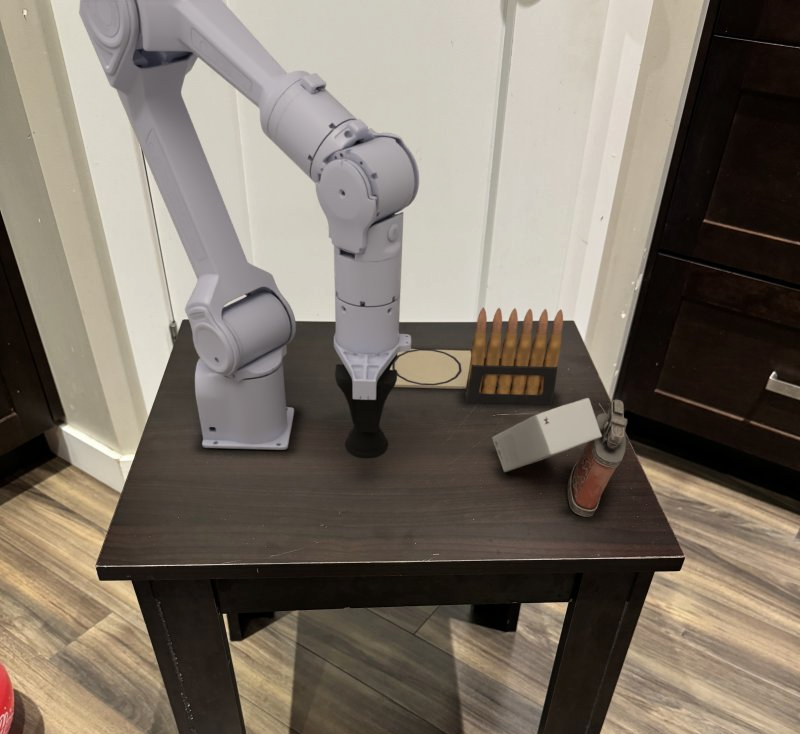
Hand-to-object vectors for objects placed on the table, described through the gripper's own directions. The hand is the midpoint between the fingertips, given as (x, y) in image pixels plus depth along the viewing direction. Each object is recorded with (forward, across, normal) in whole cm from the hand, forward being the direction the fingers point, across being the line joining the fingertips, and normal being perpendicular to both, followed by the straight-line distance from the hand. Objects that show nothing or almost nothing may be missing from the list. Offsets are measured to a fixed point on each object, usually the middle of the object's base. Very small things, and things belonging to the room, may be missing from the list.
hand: (366, 422), depth 76 cm
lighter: (+8, 0, -23) cm, 24 cm away
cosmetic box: (+7, +6, -17) cm, 19 cm away
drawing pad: (+8, +24, -7) cm, 26 cm away
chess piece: (+3, 0, 0) cm, 3 cm away
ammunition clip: (+8, +18, -17) cm, 26 cm away
